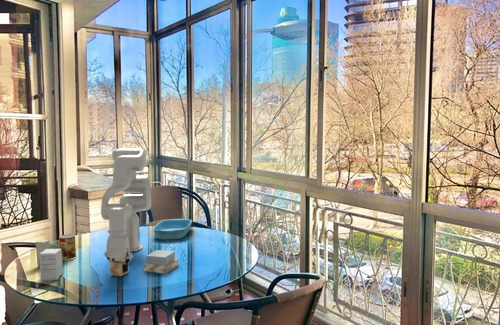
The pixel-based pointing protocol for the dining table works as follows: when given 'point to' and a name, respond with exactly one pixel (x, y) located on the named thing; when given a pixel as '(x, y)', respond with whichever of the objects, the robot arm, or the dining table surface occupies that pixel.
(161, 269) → the birch slab
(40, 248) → the box
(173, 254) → the slate block
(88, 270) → the dining table surface
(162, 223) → the casserole dish
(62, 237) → the canned food
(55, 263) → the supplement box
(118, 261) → the block
